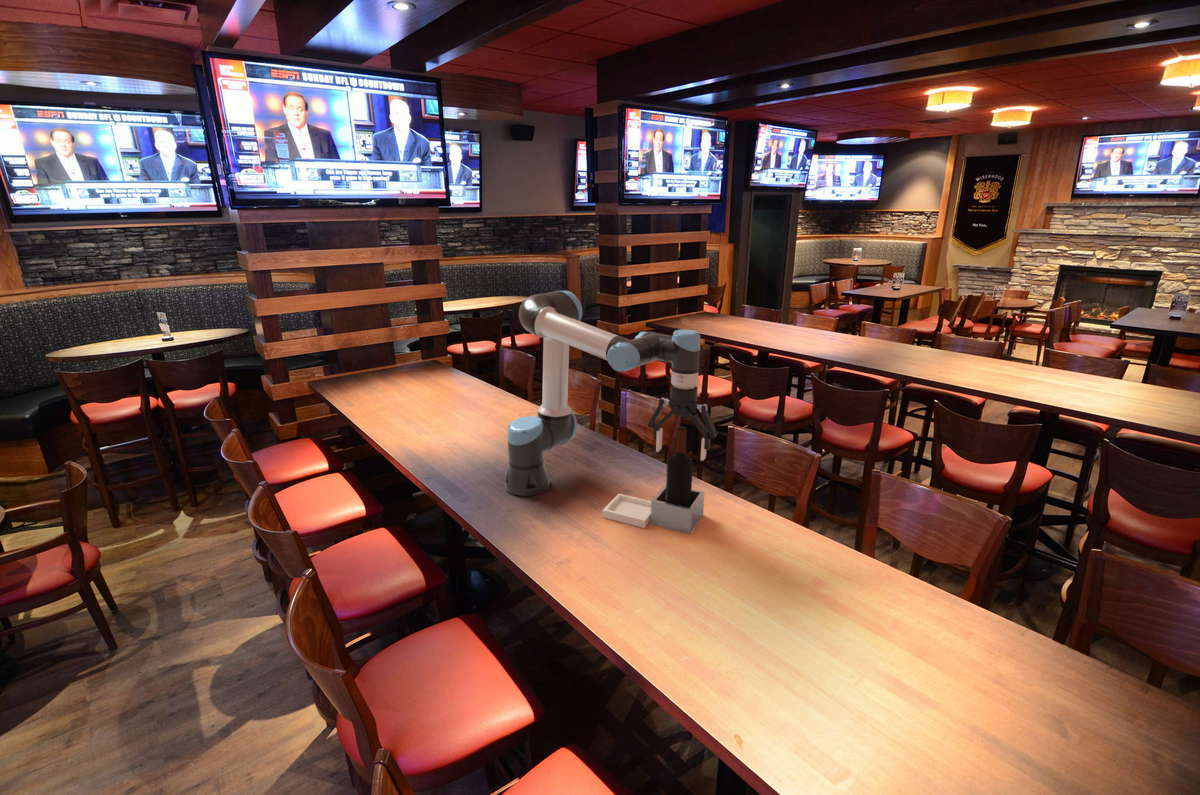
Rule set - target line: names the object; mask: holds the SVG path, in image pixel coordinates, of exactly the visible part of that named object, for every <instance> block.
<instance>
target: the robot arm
mask: <svg viewBox="0 0 1200 795" xmlns="http://www.w3.org/2000/svg"><path fill="white" fill-rule="evenodd" d="M582 318H583V307H582V303H581V301H580V300H579V299H578V297H577V296H576V295H575V294H574V293H573V292H571V291H568V290H555V291H550V292H545V293H543V292H542V293H536V294H532V295H530V296H528V297H527V298H525V299H524V300H523V301H522V303H521V304H520V306H519V310H518V319H519V321H520V322H519V323H520V324H521V326H522V327H523V328H524V330H526V331H527V332H529V333H530V334H532V335H534V336H537V337H539V338H542V339H543V342H542V344H543V349H542V354H543V355H542V398H541V399H542V402H541V403H542V404H541V405H540V406H538V407H537V416H535V415H528V416H521V417H518V418H516V419H514V420H513V421H511V422H510V423H509V424H508V427H507V448H508V450H507V451H508V469H507V472H506V475H505V479H504V489H505V491H506V492H508V493H510V494H511V495H514V496H518V497H530V496H537V495H540V494H542V493H545V492H546V491H547V490H548V489H549V488H550V486H551V485H550V477H549V475H548V472H547V469H546V466H545V461H544V460H545V459H544V454H545V453H546V452H548V451H551V450H552V449H555V448H557V447H558V446H562V445H565V444H567V443H568V442H570V441H572V440H573V439H574V437H576V435H577V431H578V421H577V418H576V415H575V413H573V411H572V408H571V407H570V406H569V405H568V392H569V391H568V390H569V366H570V365H569V364H570V346H571V347H573V348H576V349H578V350H581V351H583V352H586V353H587V354H588V353H589V354H591V355H593V356H596V357H598V358H600V359H603V360H605V361H607V363H608V364H609V366H610V367H611V369H613V370H614V371H616V372H625V371H631V370H633V369H636V368H638V367H641V366H643V365H646V364H649V363H652V362H655V361H659V362H660V361H661V362H665V363H671V375H670V376H671V377H670V383H671V385H670V393H669V394H670V398H669V399H667V398H666V397H665V396H663V397H661V398H660V399H659V402H658V406H657V407H656V409H655V411H654V413H653V415H652V417H651V418H650V420H649V422H648V423H647V427H648V428H651V429H653V441H655V442H656V444H655V452H656V453H659V452H660V451H661V450H662V448H663V446H662V445H663V428H661V427H662V426H663V425H664V424H665V423H666V422H667V421H668V420H669V419H670V418H671V417H672V416H673V415H674V416H676V417H677V418H680V417H682V418H684V419H687V418H688V419H689V420H690V421H692V423H693V424H694V426H695V427H696V428H697V430H698V432H700V434H701V435H702V438H701V447H700V461H702V462H703V461H704V460H705V459H706V458H707V450H709V449H710V447H711V439H715V438H716V437H717V436H718V432H717V429H716V427H715V425H714V422H713V420H712V418H711V415H710V412H709V405H708V403H703V404H699V403H698V402H697V401H698V389H699V388H698V384H699V372H700V371H699V370H700V369H699V367H700V366H699V365H700V355H701V354H700V352H701V349H702V347H701V334H700V333H699V332H698V331H697V330H693V329H677V330H674V332H673V334H672V335H670V334H669V335H668V334H664V333H663V334H662V333H659V332H653V331H640V332H639V333H638V334H637V335H635V338H633V339H628V338H625V337H624V336H623V337H622V336H620V335H618V334H615V333H612V332H610V331H607V330H604V329H601V328H598V327H596V326H593V325H591V324H588V323H585V322H583V321H581V320H582ZM666 406H669V408H670V411H669V412H668V413H667V414H666V415H665V416H663V418H661V420H659V422H657V420H658V418H659V416H660V415H661V414H662V411H664V408H665V407H666ZM696 410H698V411H699V413H701V416H702V419H703V421H702V419H701V418H700V416H699V415H698V412H697V411H696ZM656 422H657V423H656ZM703 422H704V423H703Z"/></svg>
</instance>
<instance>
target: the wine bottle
mask: <svg viewBox="0 0 1200 795" xmlns="http://www.w3.org/2000/svg"><path fill="white" fill-rule="evenodd" d="M687 435H688V429H687V427H685V426H678V427H677V429H676V444H675V445H676V446H675V447H676V448H675V452H674V453H673V454H672V455H671V456H670V457H668V459H667V464H666V480H665V481H666V482H665V484H666V501H665V502H666V503H670V504H675V505H679V506H683V507H687V508H690V504H691V489H692V486H693V485H692V484H693V472H694V471H693V467H694V461H693V460H692V458H691V457H690V456H689V455H688V454H687V452H686V451H687V450H686V448H687V447H686V446H687Z"/></svg>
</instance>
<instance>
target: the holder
mask: <svg viewBox="0 0 1200 795" xmlns="http://www.w3.org/2000/svg"><path fill="white" fill-rule="evenodd" d="M650 501H651V521H650V522H649V523H650V525H652V526H655V527H658V528H662V529H663V528H664V529H666V530H670V531H675V532H679V533H682V534H686V535H691V534H692V533H693V531H694V530H695V528H696V527H697V525H698V524H699V522H700V521H701V519H702V517H703V516H704V506H705V491H701V490H698V489H692V488H691V504H690V508H687V507H683V506H679V505H675V504H670V503H666V502H665V501H666V483H665V484H664V485H663V486H662V488H661V489H660V490H659V491H658V492H657V493H656V494H655V496H654V497H653V498H652V499H651V500H650Z"/></svg>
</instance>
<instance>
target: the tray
mask: <svg viewBox="0 0 1200 795" xmlns="http://www.w3.org/2000/svg"><path fill="white" fill-rule="evenodd" d="M601 512H602V514H601V516H602V518H604V519H608V520H612V521H616V522H620V523H623V524H627V525H631V526H635V527H638V528H642V529H646V527H647V525H648V524H649V523H650V522H651V500H648V499H644V498H640V497H635V496H631V495H626V494H622V493H618V494H617V495H615V497H613V499H612V500H610V502H609V503H608V504H606V506H604V508H603V509H602V511H601Z"/></svg>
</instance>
